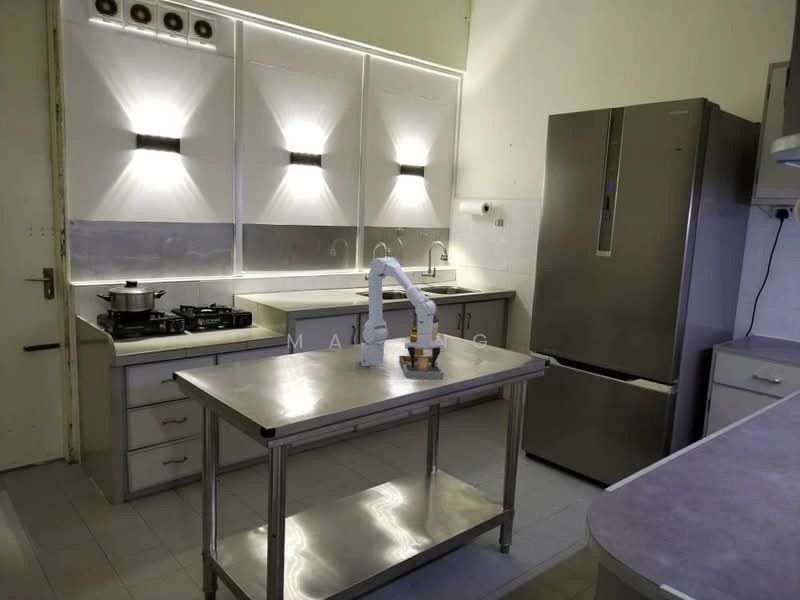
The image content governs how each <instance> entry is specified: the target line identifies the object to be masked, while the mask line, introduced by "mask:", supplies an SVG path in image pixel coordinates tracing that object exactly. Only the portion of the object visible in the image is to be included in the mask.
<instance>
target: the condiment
mask: <svg viewBox="0 0 800 600" xmlns="http://www.w3.org/2000/svg"><path fill="white" fill-rule="evenodd" d="M417 328H418V327H412V328H411V331H410V336H409V343H411V342H417ZM414 349H415V356H424V355H428V353H427V352H424V349H417V348H414ZM423 354H424V355H423Z"/></svg>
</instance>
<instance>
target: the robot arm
mask: <svg viewBox="0 0 800 600" xmlns="http://www.w3.org/2000/svg"><path fill="white" fill-rule="evenodd" d="M387 276H388V277H393V279H395V280H396V281H397V282H398V284H400V286H401V287H402V288H403V289H404V291H405V296H406V298H407V299H408V300H409V301H410V303H411V304H412V305H413V306H414V311H415V313H416V316H417V327H416V328H417V342H411V343H410V342H404V348H405V349H406V350H407V351H408V353H409V355H408V356H410V358H411V363H412V367H414V357H415V356H416V355H415V349H414V348H417V349H423V350H424V349H425V350H426V349H427V350H431V352H432V353H431V356H432V363H431V367H432V368H434V365H435V362H437V359H438V357H439V355H440V353H441V350H444V344H443V343H440V342H436V343H432V328H433V316H434V315H435V313H436V312H437V310H438V309H437V305H436V304H437V303H435V301H434V300H431V299H429V297H427V296H426V295H425V294H424V292H423V291H422V288H421V287H420V286H417V285H413V284H412V282H411V281H410V279H409V277H408V276H407V275H406V273H405V272H404V271H403V269H402V267H401V264H400V262H398V260H397V259H396V258H395V257H393V256H389V257H376V258H374V259H373V260H372V261H371V262H370V269H369V273H368V275H367V277H368V279H367V281H368V320H367V321H366V322H365V324H364V329H363V332H362V338H363V340H364V341H365V342H361V346H360V356H359V359H360V360H359V361H360V365H361V367H371V366H386V365H385V361H384V356H385V355H384V354H385V353H384V351H385V342H386V340H387V338H388V336H389V331H388V328H387V322H386V320H384V317H383V280H384V279H386V277H387Z"/></svg>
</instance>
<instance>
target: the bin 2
mask: <svg viewBox="0 0 800 600" xmlns="http://www.w3.org/2000/svg"><path fill="white" fill-rule="evenodd" d="M417 366H418V364H414V367H412V364H403V369H402V372H403V375H404V377H405V379H419V380H443V379H444V371H443V369H441V367H440V365H439V364H438V365H434V368H432V367H431V365H428V372H417Z"/></svg>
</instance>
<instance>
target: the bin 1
mask: <svg viewBox="0 0 800 600" xmlns="http://www.w3.org/2000/svg"><path fill="white" fill-rule="evenodd" d="M398 358H399V360H398V362H399V364H400V366H401V367H400V368H401V370H403V364H412V363H411V358H410V355H399V356H398ZM418 358H427V359H428V365H431V363H432V355H431V356H429V355H428V356H427V355H420V356H416V355H415V357H414V364H418ZM435 365H439V363H438V362H437V361H436V362H435Z"/></svg>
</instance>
